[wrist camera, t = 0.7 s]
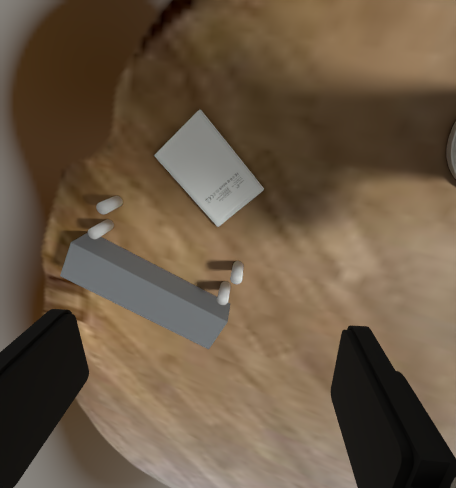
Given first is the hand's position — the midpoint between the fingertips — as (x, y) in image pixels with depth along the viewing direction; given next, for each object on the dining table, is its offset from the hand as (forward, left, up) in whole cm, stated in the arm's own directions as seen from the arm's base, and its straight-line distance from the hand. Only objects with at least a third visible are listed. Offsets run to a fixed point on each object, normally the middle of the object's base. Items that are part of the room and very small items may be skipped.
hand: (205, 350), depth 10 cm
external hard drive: (0, -5, -30) cm, 30 cm away
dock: (+16, -5, -29) cm, 33 cm away
